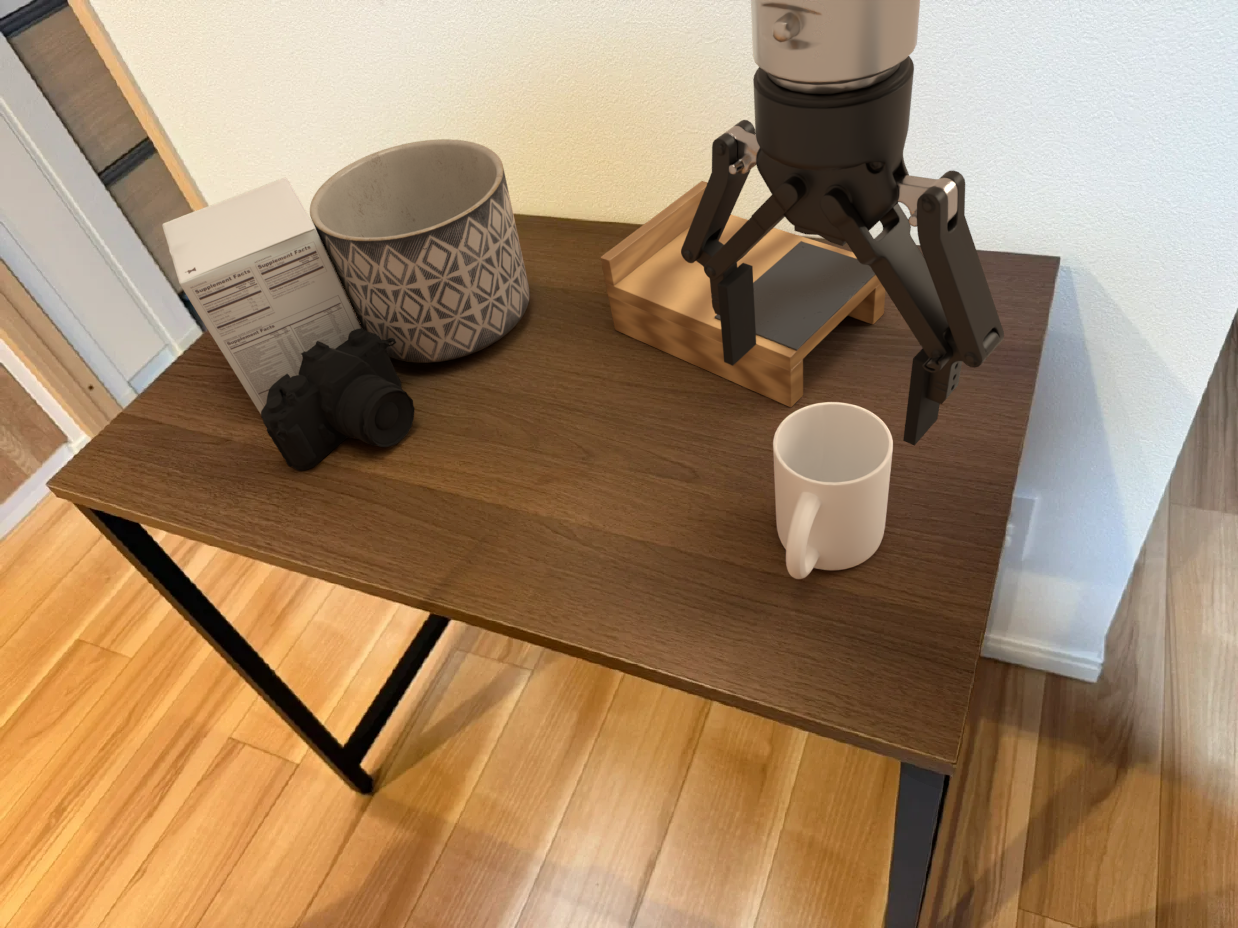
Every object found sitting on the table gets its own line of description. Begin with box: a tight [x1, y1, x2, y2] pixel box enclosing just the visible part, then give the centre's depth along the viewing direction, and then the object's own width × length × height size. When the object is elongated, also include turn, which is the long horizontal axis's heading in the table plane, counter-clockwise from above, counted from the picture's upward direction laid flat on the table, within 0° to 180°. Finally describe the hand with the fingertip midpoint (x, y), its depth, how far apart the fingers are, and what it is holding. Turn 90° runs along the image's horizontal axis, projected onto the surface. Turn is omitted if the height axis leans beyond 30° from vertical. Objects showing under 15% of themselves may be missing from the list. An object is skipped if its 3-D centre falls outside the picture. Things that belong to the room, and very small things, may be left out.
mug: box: [772, 401, 894, 580], centre depth 65 cm, size 12×8×10 cm
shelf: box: [600, 180, 886, 408], centre depth 86 cm, size 22×16×9 cm
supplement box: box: [161, 177, 362, 415], centre depth 89 cm, size 13×13×18 cm
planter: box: [309, 138, 531, 364], centre depth 91 cm, size 19×19×16 cm
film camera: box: [260, 327, 416, 472], centre depth 83 cm, size 15×10×9 cm, turn 144°
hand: (824, 389), depth 57 cm, fingers open, 13 cm apart
